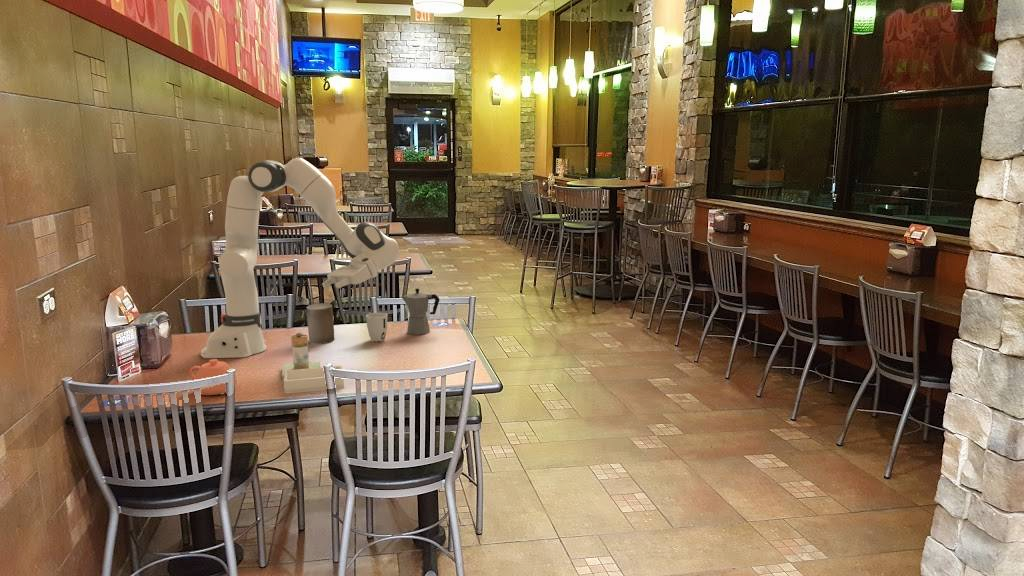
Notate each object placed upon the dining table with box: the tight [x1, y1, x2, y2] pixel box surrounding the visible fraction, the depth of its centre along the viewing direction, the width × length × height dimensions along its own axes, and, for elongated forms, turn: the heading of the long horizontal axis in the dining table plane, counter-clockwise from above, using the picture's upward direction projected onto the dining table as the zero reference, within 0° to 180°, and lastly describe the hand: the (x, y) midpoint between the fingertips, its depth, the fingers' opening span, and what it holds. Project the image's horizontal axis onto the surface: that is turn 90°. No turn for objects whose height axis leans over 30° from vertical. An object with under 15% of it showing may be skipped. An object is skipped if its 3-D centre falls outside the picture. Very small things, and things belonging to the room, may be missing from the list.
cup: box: [365, 312, 388, 343], centre depth 269 cm, size 8×8×10 cm
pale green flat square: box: [281, 361, 321, 381], centre depth 231 cm, size 12×12×2 cm
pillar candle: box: [306, 302, 336, 344], centre depth 269 cm, size 10×10×15 cm
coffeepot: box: [400, 288, 440, 336], centre depth 280 cm, size 15×9×18 cm, turn 88°
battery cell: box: [290, 332, 310, 370], centre depth 230 cm, size 5×5×12 cm
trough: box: [283, 365, 345, 394], centre depth 219 cm, size 18×11×4 cm, turn 106°
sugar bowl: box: [189, 358, 238, 396], centre depth 213 cm, size 12×14×10 cm
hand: (330, 286), depth 240 cm, fingers open, 8 cm apart
